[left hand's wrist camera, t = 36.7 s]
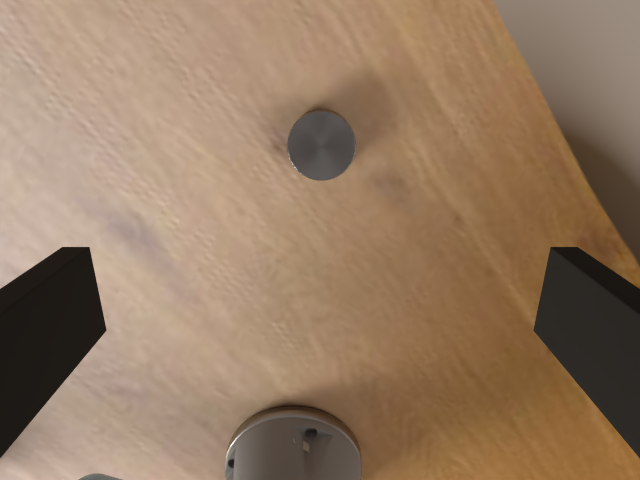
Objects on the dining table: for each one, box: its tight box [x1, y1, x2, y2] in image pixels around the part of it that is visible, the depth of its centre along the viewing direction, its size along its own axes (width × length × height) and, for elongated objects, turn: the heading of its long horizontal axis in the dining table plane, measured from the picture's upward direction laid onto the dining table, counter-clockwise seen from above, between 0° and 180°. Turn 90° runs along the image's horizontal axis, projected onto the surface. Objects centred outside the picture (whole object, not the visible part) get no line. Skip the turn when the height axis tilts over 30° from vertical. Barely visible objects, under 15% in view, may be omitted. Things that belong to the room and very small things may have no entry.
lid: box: [287, 110, 356, 180], centre depth 36 cm, size 6×6×2 cm
